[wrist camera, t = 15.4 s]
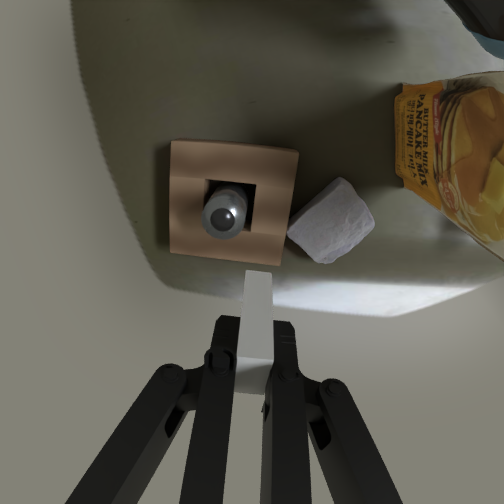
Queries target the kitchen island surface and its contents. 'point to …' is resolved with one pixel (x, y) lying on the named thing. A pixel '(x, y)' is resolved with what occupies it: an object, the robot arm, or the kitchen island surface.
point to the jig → (236, 170)
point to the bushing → (226, 210)
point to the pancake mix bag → (456, 151)
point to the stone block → (331, 222)
